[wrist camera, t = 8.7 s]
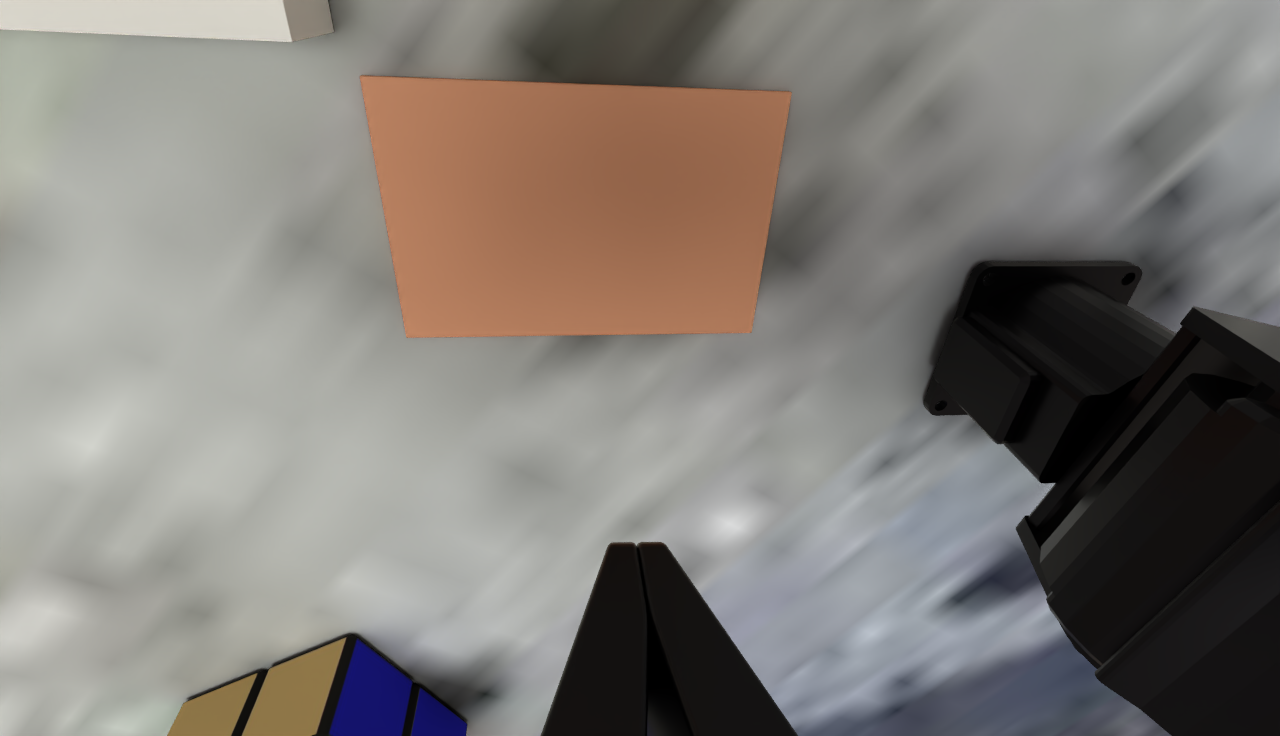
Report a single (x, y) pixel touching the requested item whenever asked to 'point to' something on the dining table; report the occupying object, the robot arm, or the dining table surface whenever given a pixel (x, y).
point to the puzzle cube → (321, 700)
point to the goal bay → (173, 18)
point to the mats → (574, 204)
